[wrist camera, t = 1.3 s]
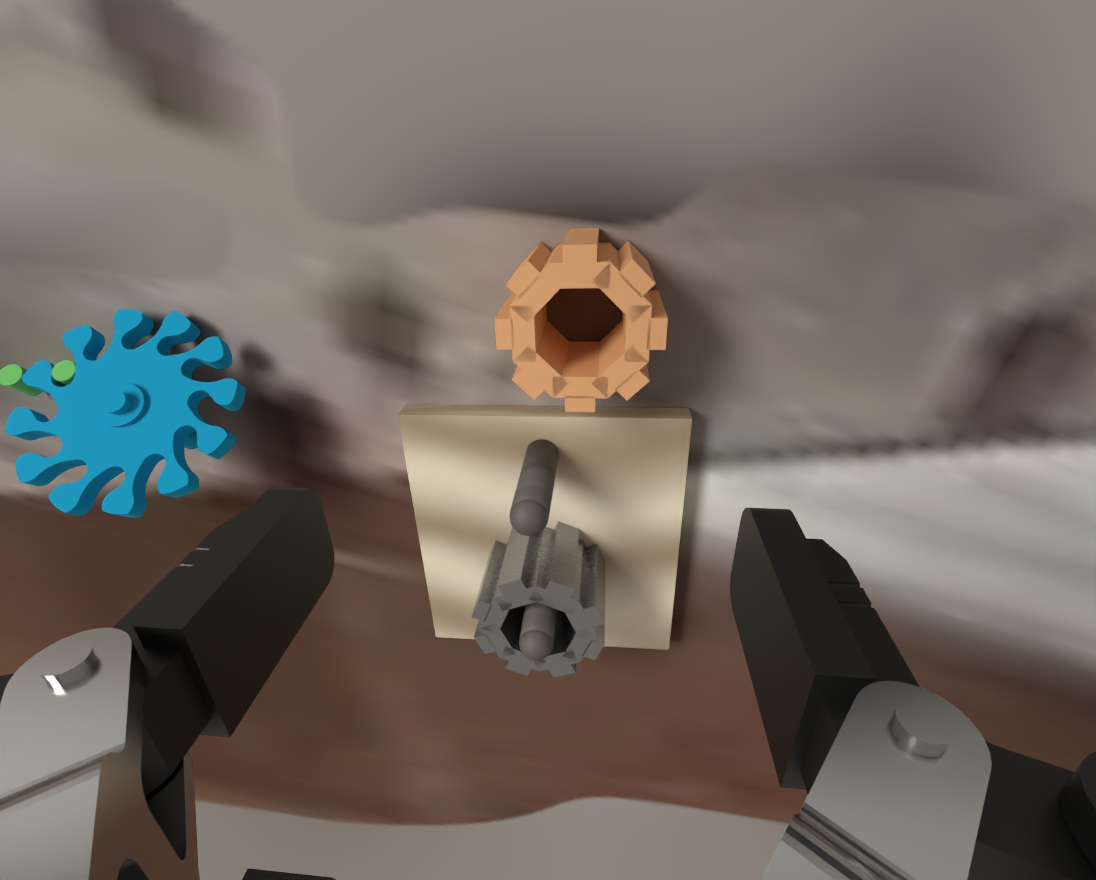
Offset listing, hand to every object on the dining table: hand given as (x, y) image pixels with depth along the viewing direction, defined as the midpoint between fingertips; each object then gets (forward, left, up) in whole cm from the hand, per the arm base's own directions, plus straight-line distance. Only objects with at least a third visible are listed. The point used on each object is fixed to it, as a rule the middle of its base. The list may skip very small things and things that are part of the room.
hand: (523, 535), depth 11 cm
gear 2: (+14, -1, -15) cm, 21 cm away
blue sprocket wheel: (+3, -21, -17) cm, 27 cm away
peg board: (+12, -1, -16) cm, 20 cm away
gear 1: (0, +1, -16) cm, 16 cm away
